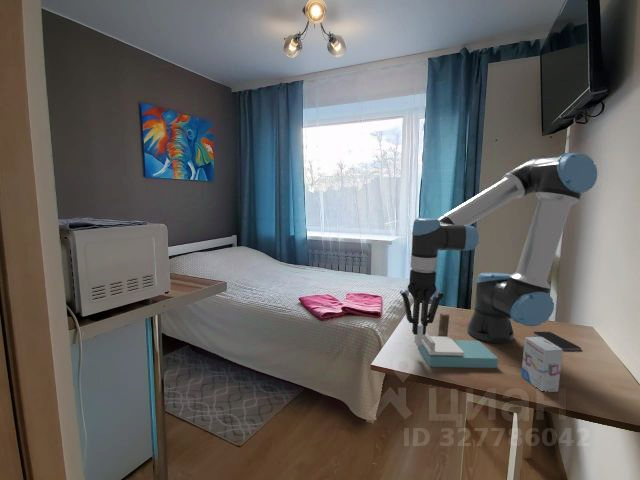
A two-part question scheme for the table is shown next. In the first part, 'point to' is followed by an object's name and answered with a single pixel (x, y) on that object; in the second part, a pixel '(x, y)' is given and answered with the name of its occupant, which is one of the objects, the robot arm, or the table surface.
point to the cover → (441, 345)
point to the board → (473, 356)
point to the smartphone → (558, 341)
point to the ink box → (542, 363)
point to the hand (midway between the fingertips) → (418, 343)
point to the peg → (443, 325)
